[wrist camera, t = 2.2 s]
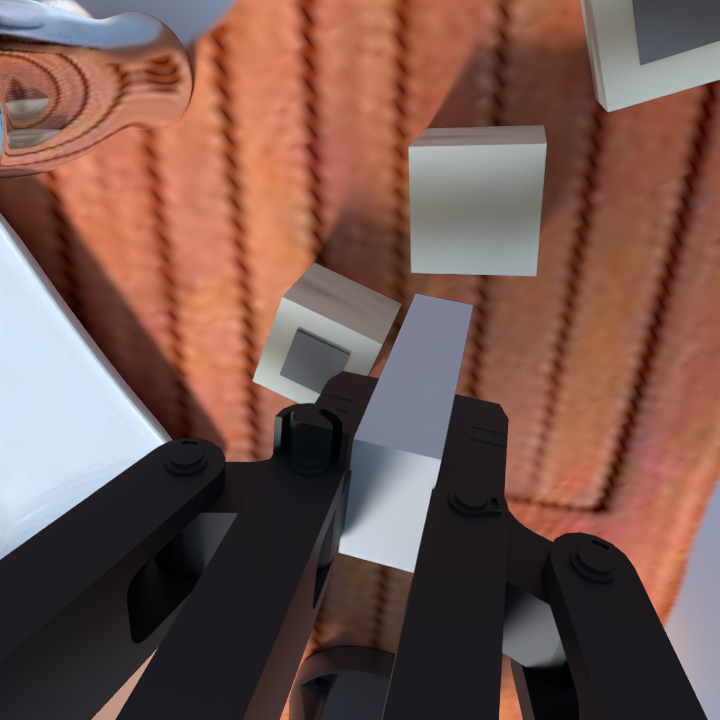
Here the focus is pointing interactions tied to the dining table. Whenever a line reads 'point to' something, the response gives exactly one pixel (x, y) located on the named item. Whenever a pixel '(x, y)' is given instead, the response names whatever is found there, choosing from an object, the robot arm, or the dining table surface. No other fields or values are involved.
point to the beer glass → (82, 83)
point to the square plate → (56, 404)
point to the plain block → (476, 200)
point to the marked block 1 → (323, 334)
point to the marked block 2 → (650, 47)
